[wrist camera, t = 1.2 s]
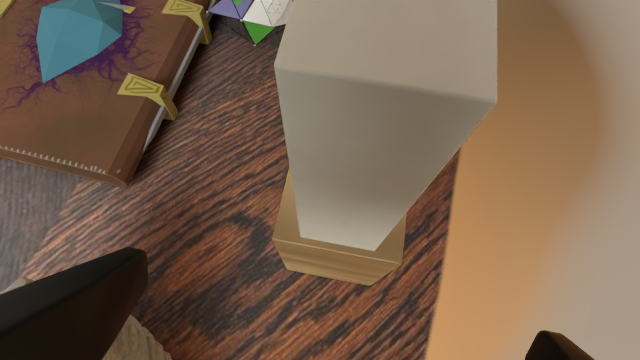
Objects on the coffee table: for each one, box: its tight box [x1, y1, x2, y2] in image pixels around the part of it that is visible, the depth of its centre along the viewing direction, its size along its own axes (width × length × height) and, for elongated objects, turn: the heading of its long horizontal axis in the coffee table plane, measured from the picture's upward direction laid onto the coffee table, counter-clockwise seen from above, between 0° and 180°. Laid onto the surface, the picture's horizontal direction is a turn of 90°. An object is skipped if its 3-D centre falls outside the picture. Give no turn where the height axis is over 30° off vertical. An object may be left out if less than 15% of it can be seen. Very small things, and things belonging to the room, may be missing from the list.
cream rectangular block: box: [274, 0, 497, 251], centre depth 11 cm, size 7×3×10 cm, turn 169°
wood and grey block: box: [272, 166, 407, 286], centre depth 16 cm, size 14×5×18 cm, turn 169°
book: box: [0, 0, 218, 188], centre depth 26 cm, size 16×25×5 cm, turn 167°
